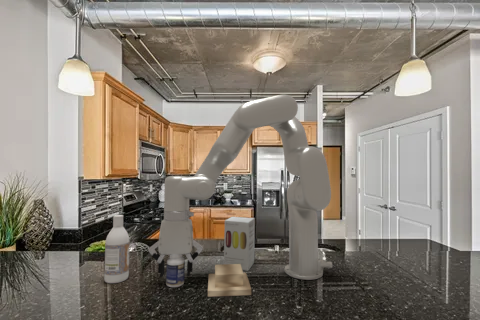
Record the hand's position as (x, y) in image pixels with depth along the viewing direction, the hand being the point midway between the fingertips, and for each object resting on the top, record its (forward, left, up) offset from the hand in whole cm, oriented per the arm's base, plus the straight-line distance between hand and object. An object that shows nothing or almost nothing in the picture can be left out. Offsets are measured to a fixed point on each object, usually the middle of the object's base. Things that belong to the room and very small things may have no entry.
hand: (175, 274), depth 77 cm
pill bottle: (0, 0, -3) cm, 3 cm away
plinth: (-16, +3, -3) cm, 17 cm away
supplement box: (-21, -14, -3) cm, 25 cm away
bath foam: (+19, -5, -3) cm, 20 cm away
